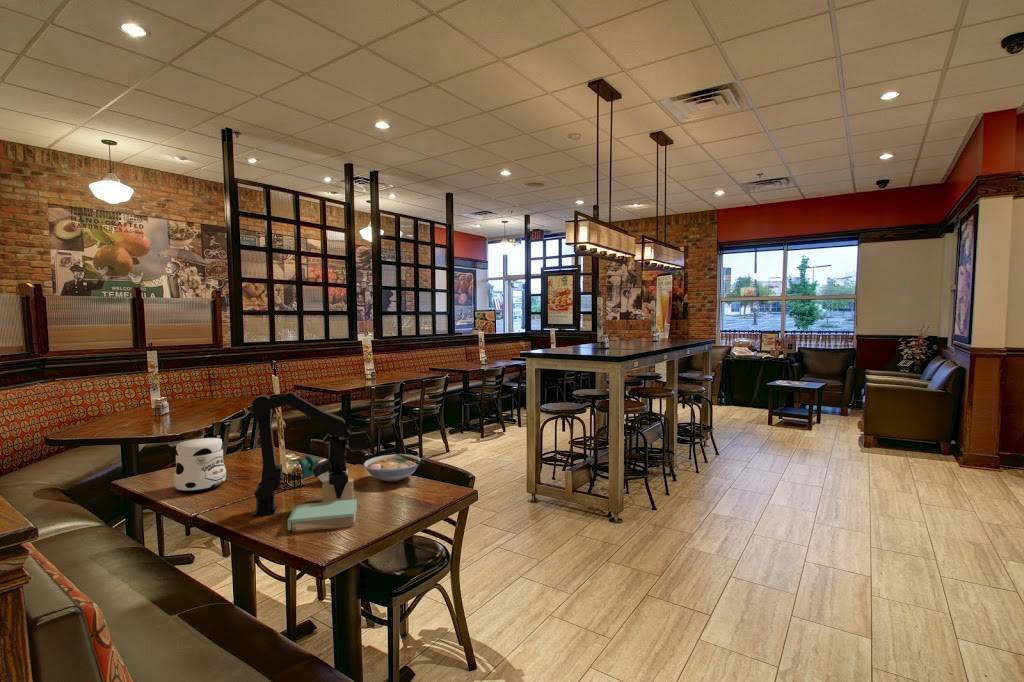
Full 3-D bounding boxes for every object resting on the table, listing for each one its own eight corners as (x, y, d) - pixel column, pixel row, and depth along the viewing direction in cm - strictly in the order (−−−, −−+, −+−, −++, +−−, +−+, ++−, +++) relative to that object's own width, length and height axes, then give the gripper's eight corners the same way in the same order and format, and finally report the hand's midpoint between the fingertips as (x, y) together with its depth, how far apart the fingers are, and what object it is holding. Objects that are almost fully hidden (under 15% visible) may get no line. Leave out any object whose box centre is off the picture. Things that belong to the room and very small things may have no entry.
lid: (295, 514, 160) (295, 504, 160) (357, 508, 165) (356, 499, 165) (287, 530, 148) (287, 519, 148) (354, 523, 152) (354, 513, 152)
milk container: (224, 491, 186) (222, 444, 185) (169, 498, 178) (168, 449, 178) (228, 478, 201) (227, 435, 201) (178, 484, 194) (177, 440, 194)
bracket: (318, 474, 207) (317, 456, 207) (304, 478, 201) (303, 459, 201) (291, 468, 216) (291, 450, 216) (277, 472, 210) (277, 454, 210)
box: (300, 516, 161) (299, 507, 160) (356, 510, 165) (356, 502, 165) (292, 532, 148) (292, 522, 148) (354, 526, 152) (354, 516, 152)
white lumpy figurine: (316, 478, 201) (316, 456, 201) (347, 474, 205) (346, 453, 205) (316, 486, 190) (315, 464, 190) (348, 483, 195) (348, 460, 194)
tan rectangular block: (324, 500, 174) (323, 480, 173) (353, 497, 176) (353, 478, 176) (322, 504, 170) (322, 484, 170) (352, 501, 172) (352, 481, 172)
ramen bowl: (354, 477, 202) (353, 458, 201) (405, 467, 216) (404, 449, 216) (378, 493, 182) (378, 471, 182) (432, 481, 196) (432, 460, 196)
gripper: (313, 449, 178) (314, 491, 179) (312, 462, 161) (313, 508, 161) (345, 446, 182) (346, 487, 183) (348, 458, 165) (348, 504, 165)
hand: (338, 496), depth 173 cm, fingers closed on tan rectangular block, 4 cm apart
